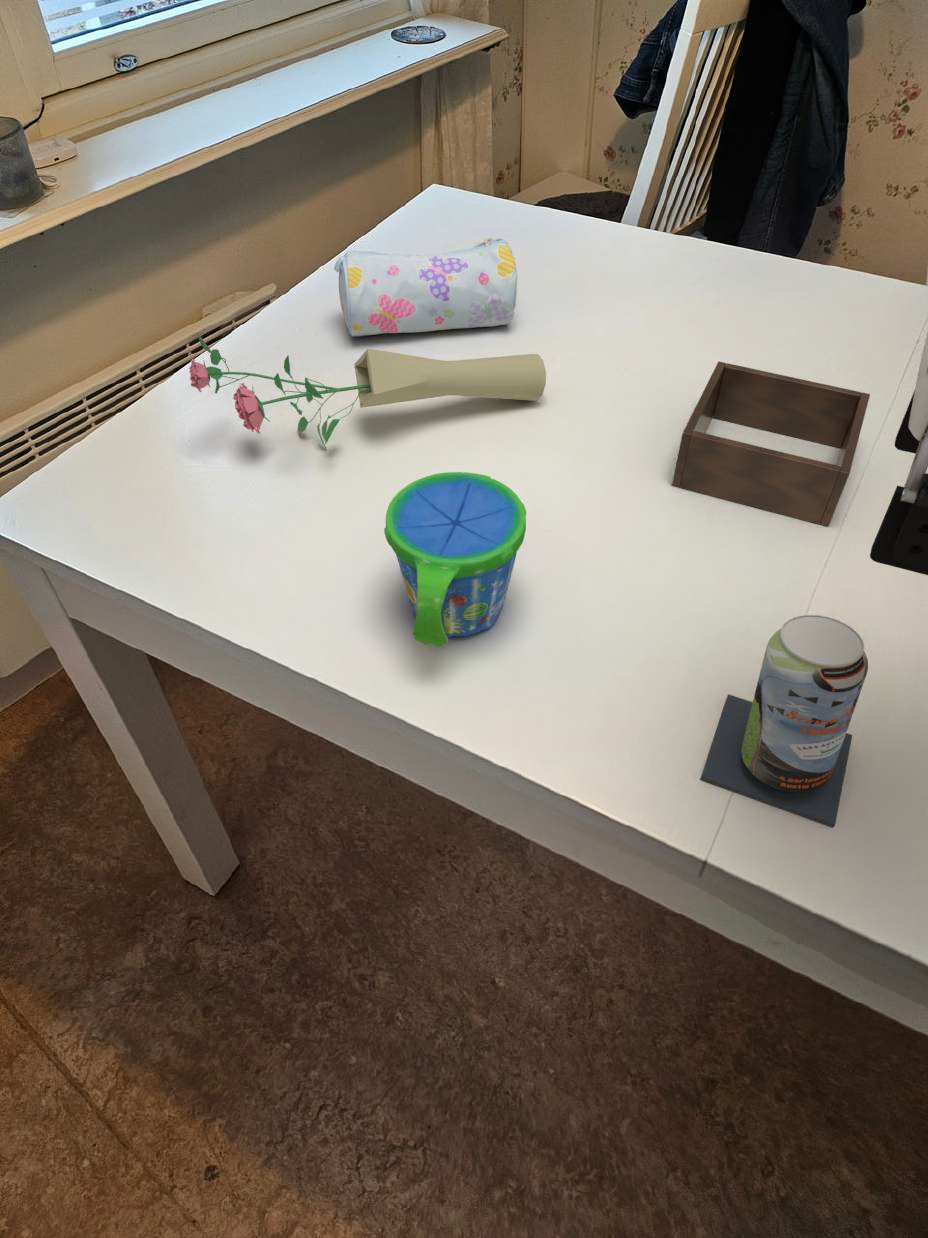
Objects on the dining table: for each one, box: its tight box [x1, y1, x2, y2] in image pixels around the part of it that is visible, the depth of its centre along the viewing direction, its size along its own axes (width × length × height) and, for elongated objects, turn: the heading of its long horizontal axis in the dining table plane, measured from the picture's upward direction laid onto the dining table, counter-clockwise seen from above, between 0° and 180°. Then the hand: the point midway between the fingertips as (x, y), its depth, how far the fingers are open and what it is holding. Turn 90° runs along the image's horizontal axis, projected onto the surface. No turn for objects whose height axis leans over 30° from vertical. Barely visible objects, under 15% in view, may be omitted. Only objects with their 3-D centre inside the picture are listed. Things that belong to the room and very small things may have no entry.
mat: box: [700, 693, 853, 828], centre depth 62 cm, size 9×8×1 cm
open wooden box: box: [671, 361, 871, 527], centre depth 83 cm, size 15×14×6 cm
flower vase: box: [188, 333, 547, 451], centre depth 87 cm, size 12×12×35 cm
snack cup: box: [383, 471, 527, 647], centre depth 68 cm, size 16×10×10 cm
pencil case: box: [333, 237, 518, 337], centre depth 101 cm, size 21×9×10 cm, turn 101°
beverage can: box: [741, 614, 869, 792], centre depth 57 cm, size 6×7×12 cm
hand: (915, 505), depth 44 cm, fingers open, 9 cm apart
